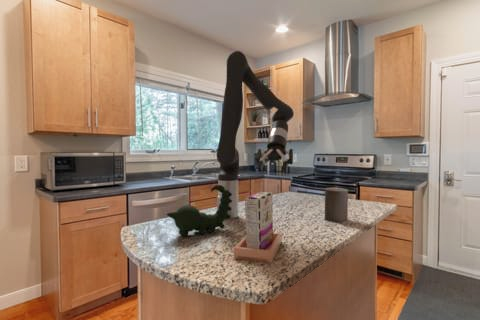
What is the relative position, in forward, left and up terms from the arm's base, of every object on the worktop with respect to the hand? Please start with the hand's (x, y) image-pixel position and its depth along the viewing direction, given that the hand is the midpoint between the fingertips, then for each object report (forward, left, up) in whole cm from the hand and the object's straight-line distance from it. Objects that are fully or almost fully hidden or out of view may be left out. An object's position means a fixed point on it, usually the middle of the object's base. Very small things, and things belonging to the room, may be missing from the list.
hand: (271, 170), depth 98 cm
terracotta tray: (0, -18, -23) cm, 29 cm away
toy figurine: (-25, -8, -24) cm, 35 cm away
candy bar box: (0, -18, -23) cm, 29 cm away
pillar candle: (+24, +27, -24) cm, 43 cm away
